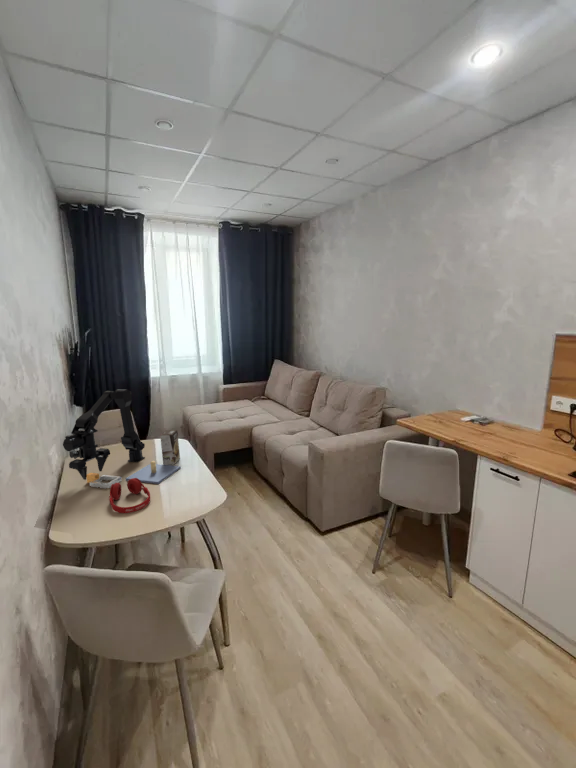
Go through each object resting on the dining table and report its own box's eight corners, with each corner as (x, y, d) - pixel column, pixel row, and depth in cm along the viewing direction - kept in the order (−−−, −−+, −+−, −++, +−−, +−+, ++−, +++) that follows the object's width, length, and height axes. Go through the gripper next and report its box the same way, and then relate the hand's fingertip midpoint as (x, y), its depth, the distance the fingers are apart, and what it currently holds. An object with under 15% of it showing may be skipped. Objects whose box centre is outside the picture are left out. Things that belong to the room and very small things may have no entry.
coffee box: (175, 464, 189) (172, 434, 186) (162, 465, 189) (159, 435, 186) (180, 458, 198) (177, 429, 195) (168, 458, 198) (165, 429, 195)
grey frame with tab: (121, 480, 172) (120, 472, 171) (108, 488, 164) (107, 480, 163) (96, 477, 176) (95, 470, 176) (82, 485, 168) (81, 477, 168)
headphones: (105, 497, 156) (116, 523, 140) (104, 482, 153) (114, 507, 138) (141, 486, 164) (155, 510, 149) (140, 472, 162) (154, 495, 147)
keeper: (150, 465, 189) (149, 453, 188) (180, 468, 184) (179, 455, 182) (126, 480, 172) (124, 467, 171) (158, 484, 167) (156, 470, 166)
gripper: (90, 436, 179) (94, 466, 182) (56, 449, 162) (62, 482, 165) (108, 437, 176) (113, 467, 179) (76, 451, 159) (81, 484, 161)
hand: (92, 475), depth 171 cm, fingers open, 9 cm apart
